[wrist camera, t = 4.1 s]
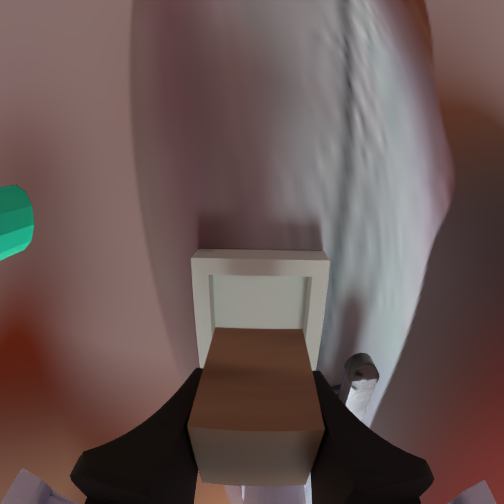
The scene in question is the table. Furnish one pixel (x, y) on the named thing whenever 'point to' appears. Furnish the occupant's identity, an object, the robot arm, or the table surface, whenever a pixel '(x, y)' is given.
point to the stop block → (256, 409)
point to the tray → (259, 293)
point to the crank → (358, 383)
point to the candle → (14, 220)
